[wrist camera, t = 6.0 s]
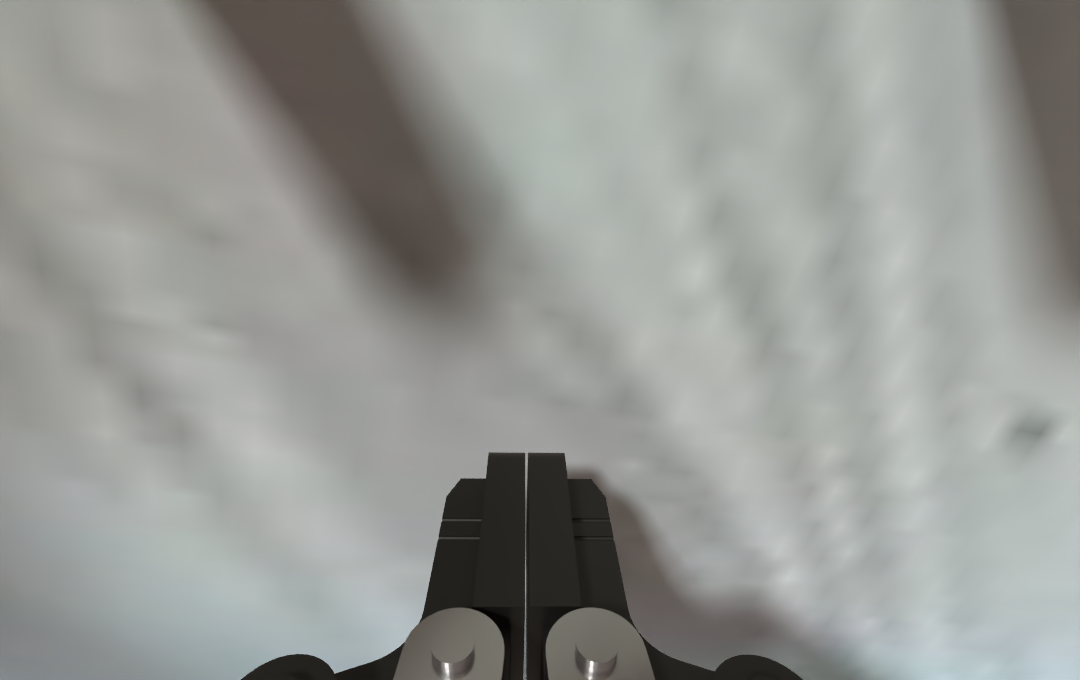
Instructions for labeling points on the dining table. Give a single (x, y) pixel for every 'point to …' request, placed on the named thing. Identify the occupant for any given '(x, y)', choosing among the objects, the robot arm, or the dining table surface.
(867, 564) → the dining table surface
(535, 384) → the dining table surface
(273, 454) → the dining table surface
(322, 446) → the dining table surface
